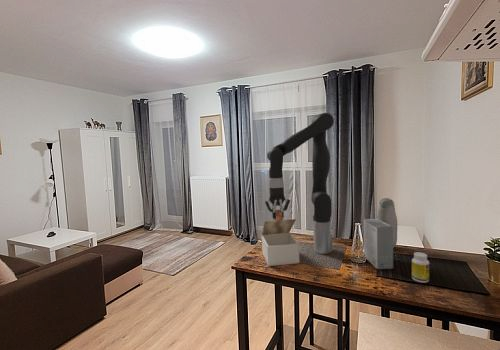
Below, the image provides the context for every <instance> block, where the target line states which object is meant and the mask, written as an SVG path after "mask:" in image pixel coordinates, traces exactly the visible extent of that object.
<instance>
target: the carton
mask: <svg viewBox="0 0 500 350" xmlns="http://www.w3.org/2000/svg"><path fill="white" fill-rule="evenodd" d="M261 251H262V254H263V258H264V260H265V262H266V263H267V266H268V267H272V266H282V265H283V266H284V265H293V264H300V245H299V242H298V241H297V240H296V239H295V237H294V236H293V235H292V234H291V232H289V233H280V234H268V235H261Z"/></svg>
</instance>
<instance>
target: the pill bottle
mask: <svg viewBox="0 0 500 350" xmlns="http://www.w3.org/2000/svg"><path fill="white" fill-rule="evenodd" d="M411 279H412V280H413V281H415V282H418V283H423V284H425V283H429V281H430V261H429V260H428V254H427V253H424V252H419V251H418V252H417V251H416V252H413V258H412V259H411Z"/></svg>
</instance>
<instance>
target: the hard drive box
mask: <svg viewBox="0 0 500 350" xmlns="http://www.w3.org/2000/svg"><path fill="white" fill-rule="evenodd" d="M364 254H365V257H366V258H365V257H364V258H365V259H366V260H367V261H368V262H369V263H370V264H372V266H373V267H374V268H375V269H376V270H392V269H394V248H393V226H391V225H389V224H387V223H385V222H383V221H381V220H379V219H377V218H364V219H363V255H364Z"/></svg>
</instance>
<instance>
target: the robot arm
mask: <svg viewBox="0 0 500 350" xmlns="http://www.w3.org/2000/svg"><path fill="white" fill-rule="evenodd" d="M334 123H335V120H334V117H333V115H332V114H331V113H329V112H323V113H319V114H316V115H314V117H313V118H312V120H311V124H310V125H308V126H306V127H305V128H303V129H301V130H299V131H297V132H295V133H294V134H291V135H290V136H289V137H287V138H286V139H285V140H283V141H282V142H281V143H278V144H276V145H275V146H273V147H272V148H271V149H270V148H269V150H268V151H267V153H266V157H267V160H268V161H269V164H270V165H269V166H270V167H269V170H268V176H269V178H268V179H269V180H268V181H269V183H268V186H269V187H268V188H269V189H268V190H269V198H268V199H267V200H265V201H264V204H265V206H266V208H267V210H268V211H269V212H271V214H272V219H273V221H275V219H276V213H275V210H276V208H277V206H278V207H279V210H280V209H281V211H282V217H283V218H285V217H284V212H285V211H287V210H288V207H289V206H290V205H289V204H290V203H291V200H290V199H289V198H286V196H285V187H284V186H285V183H284V174H283V167H284V156H286V155H287V154H290V153H292V152H293V151H295V150H297V148H299V147H300V146H302V145H303V144H305V143H307V142H308V141H309V140H311V139H312V160H311V161H312V189H311V190H312V191H311V198H310V199H311V202H312V204H313V210H314V211H313V216H312V219H313V220H312V223H313V224H312V227H313V233H312V234H313V251H314V252H315V253H316V254H320V255H321V254H322V255H325V254H326V255H327V254H330V253H333V234H331V233H332V231H331V226H332V225H331V218H332V198H331V196H330V195H329V194H328V193H327V179H328V177H329V173H330V168H331V153H330V150H329V147H328V144H327V140H326V137H327V136H326V135H327V131H328V130H330V129H331V128H332V127H333V125H334ZM270 203H271V204H272V205H271V206H270ZM283 204H284V205H283Z"/></svg>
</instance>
